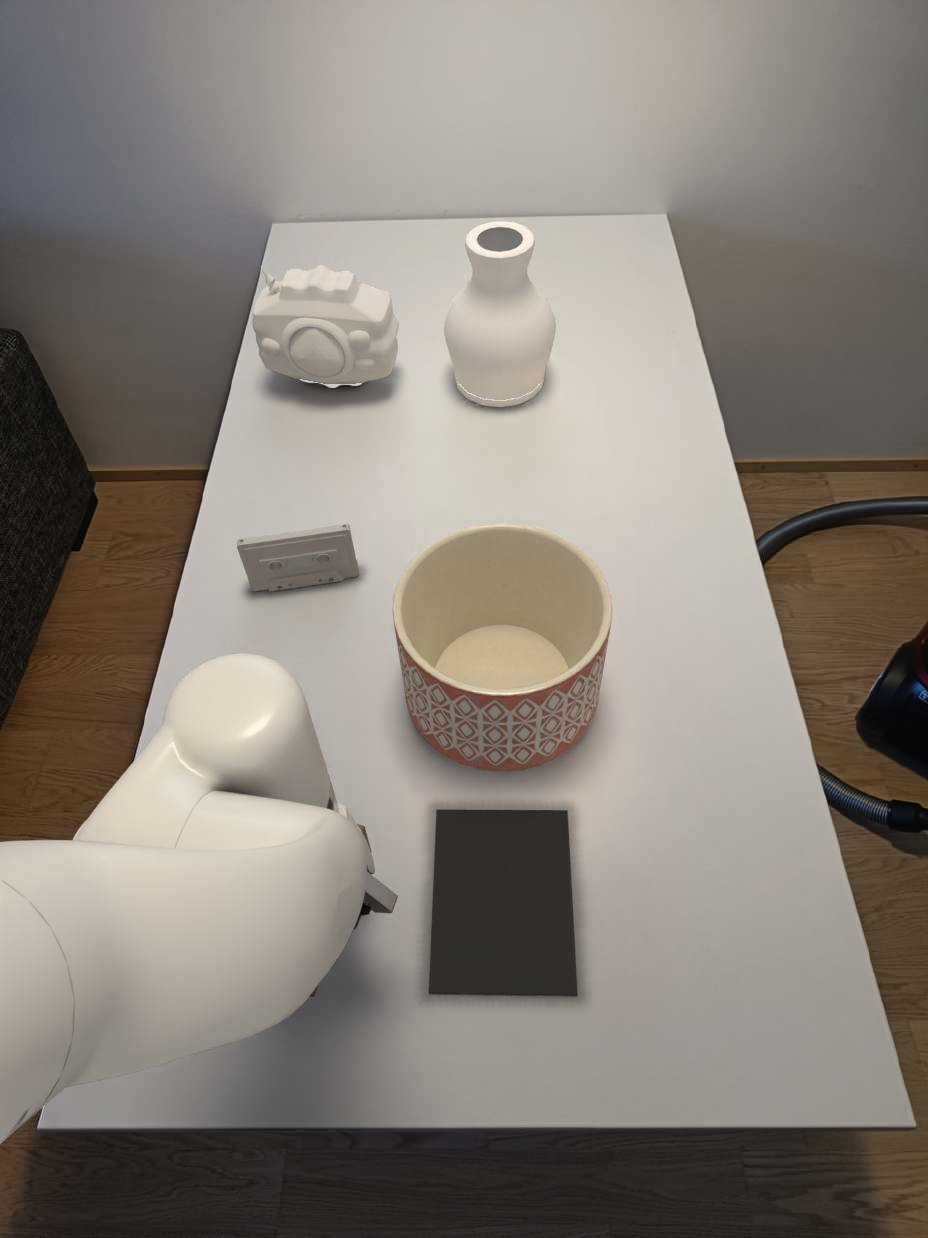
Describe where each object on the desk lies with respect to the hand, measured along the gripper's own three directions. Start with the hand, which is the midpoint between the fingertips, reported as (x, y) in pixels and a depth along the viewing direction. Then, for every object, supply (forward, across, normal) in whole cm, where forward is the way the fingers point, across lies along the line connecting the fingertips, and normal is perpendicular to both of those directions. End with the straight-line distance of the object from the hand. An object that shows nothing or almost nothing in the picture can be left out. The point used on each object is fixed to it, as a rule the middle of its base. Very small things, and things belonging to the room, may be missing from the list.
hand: (320, 912), depth 69 cm
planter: (+6, +7, +28) cm, 29 cm away
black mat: (+7, +13, +8) cm, 16 cm away
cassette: (+6, -18, +36) cm, 40 cm away
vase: (+5, -7, +76) cm, 76 cm away
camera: (+5, -28, +69) cm, 75 cm away
